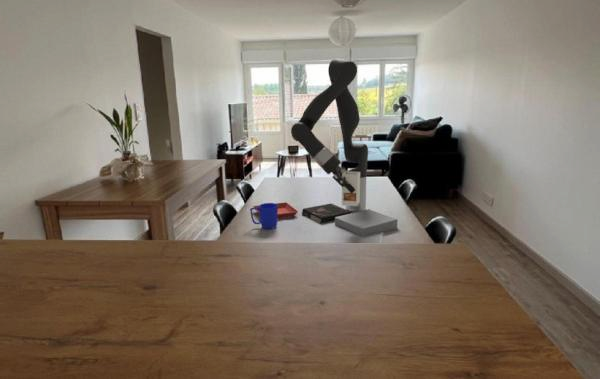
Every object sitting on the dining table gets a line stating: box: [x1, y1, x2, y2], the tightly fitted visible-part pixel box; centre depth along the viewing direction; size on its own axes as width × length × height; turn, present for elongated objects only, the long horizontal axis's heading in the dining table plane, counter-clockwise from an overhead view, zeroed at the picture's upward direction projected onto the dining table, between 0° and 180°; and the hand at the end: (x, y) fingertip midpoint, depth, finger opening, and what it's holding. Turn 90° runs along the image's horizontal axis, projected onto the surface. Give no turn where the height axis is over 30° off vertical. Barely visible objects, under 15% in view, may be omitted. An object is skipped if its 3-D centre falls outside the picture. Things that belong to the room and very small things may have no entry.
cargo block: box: [345, 193, 356, 201], centre depth 156 cm, size 4×4×4 cm
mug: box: [249, 202, 278, 230], centre depth 165 cm, size 8×12×10 cm
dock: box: [334, 209, 398, 237], centre depth 163 cm, size 18×20×4 cm
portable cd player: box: [301, 203, 352, 224], centre depth 177 cm, size 16×17×4 cm
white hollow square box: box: [341, 170, 360, 207], centre depth 155 cm, size 6×6×13 cm
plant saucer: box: [252, 202, 299, 220], centre depth 184 cm, size 18×18×3 cm
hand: (355, 189), depth 155 cm, fingers closed on white hollow square box, 6 cm apart
